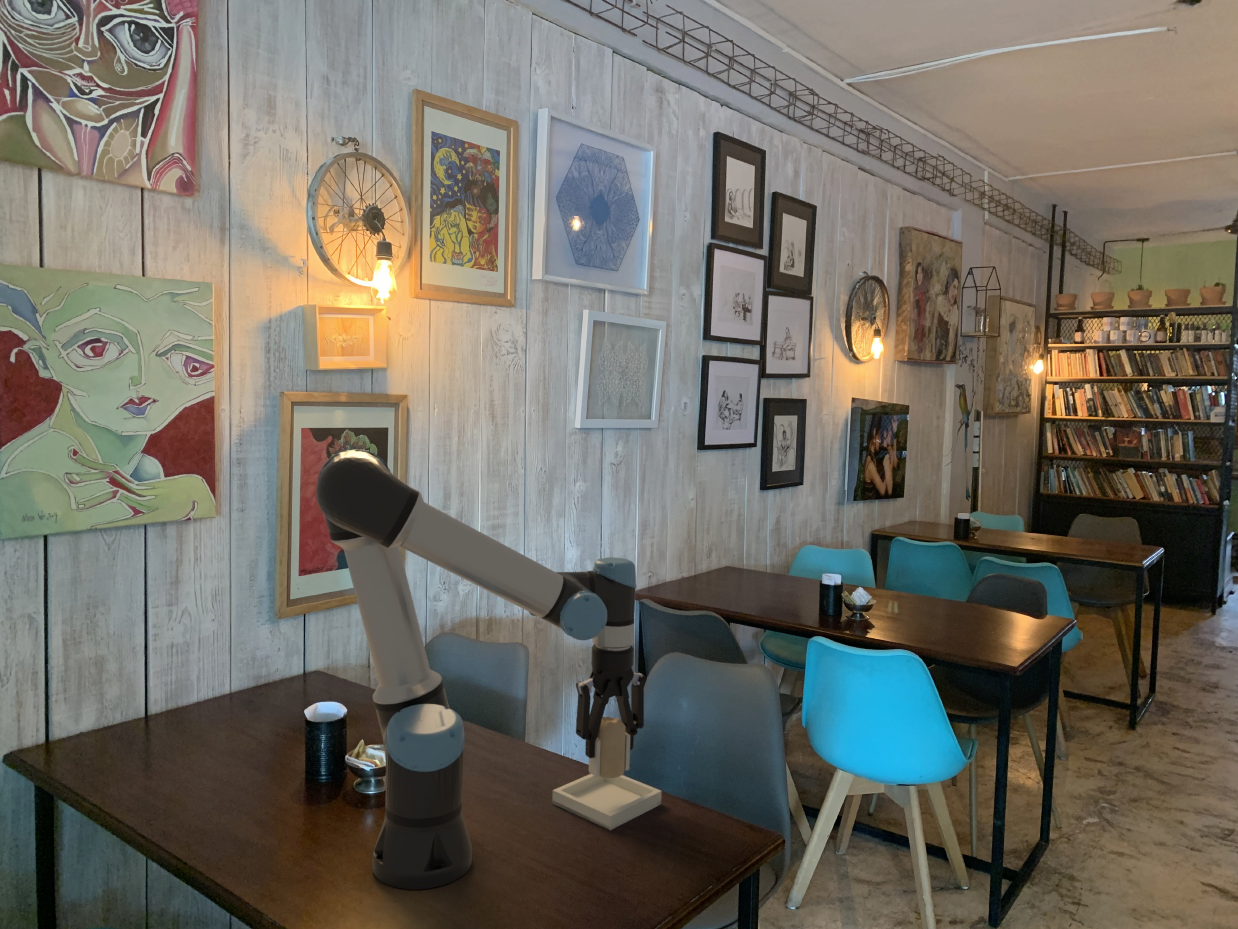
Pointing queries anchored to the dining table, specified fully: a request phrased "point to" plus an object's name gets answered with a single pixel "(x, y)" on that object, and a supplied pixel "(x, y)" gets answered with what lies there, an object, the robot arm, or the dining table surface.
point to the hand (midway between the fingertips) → (609, 770)
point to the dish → (607, 799)
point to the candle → (612, 747)
